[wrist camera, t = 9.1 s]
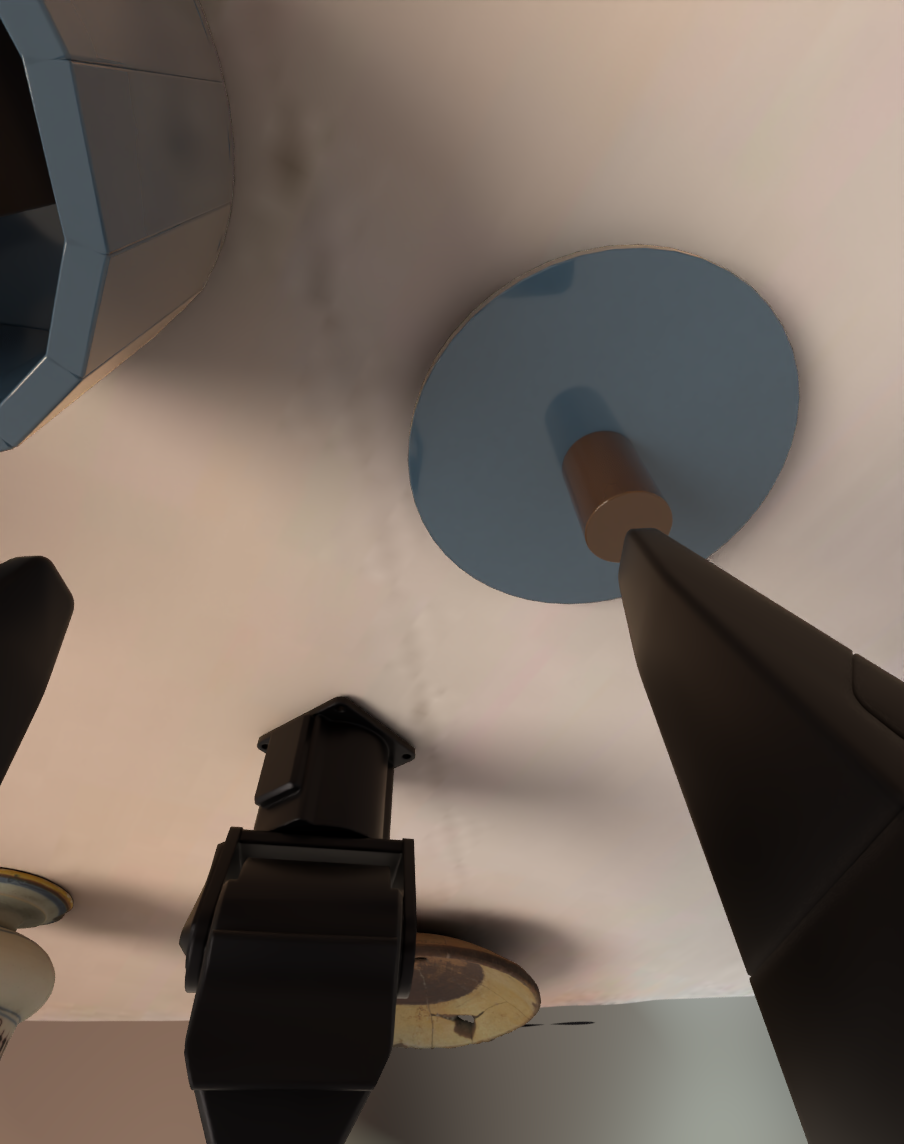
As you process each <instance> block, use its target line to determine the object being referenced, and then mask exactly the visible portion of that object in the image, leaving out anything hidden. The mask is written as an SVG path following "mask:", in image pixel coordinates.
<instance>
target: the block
mask: <svg viewBox="0 0 904 1144" xmlns="http://www.w3.org/2000/svg"><path fill="white" fill-rule="evenodd" d="M53 204H56V202H55V197H54V193H53V189H52V185H51V180H50V176H49V172H48V168H47V163H46V159H45V155H44V151H43V146H42V142H41V138H40V134H39V129H38V125H37V121H36V116H35V112H34V108H33V104H32V99H31V95H30V91H29V87H28V82H27V78H26V74H25V70H24V65H23V61H22V58H21V56H20V54H19V52H18V51H17V49H16V47H15V45H14V43H13V41H12V39H11V38H10V36H9V34H8V32H7V30H6V28H5V26H4V24H3V23H2V21H1V19H0V217H3V216H8V215H12V214H16V213H20V212H24V211H28V210H33V209H37V208H41V207H45V206H49V205H53Z"/></svg>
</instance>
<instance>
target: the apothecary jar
mask: <svg viewBox="0 0 904 1144" xmlns="http://www.w3.org/2000/svg"><path fill="white" fill-rule="evenodd" d="M72 907H73V900H72V898H71V896H70V895H69V894H68V893H67V892H66V891H65V890H63V889H62V888H60V887H59V886H57V885H55V884H53V883H51V882H50V881H47V880H45V879H43V878H40V877H37V876H34V875H31V874H27V873H23V872H19V871H14V870H8V869H1V868H0V1059H1V1057H2V1055H3V1053H4V1051H5V1049H6V1047H7V1045H8V1042H9V1040H10V1039H11V1037H12V1035H13V1033H14V1030H15V1028H16V1027H17V1025H18V1024H19V1023H20V1022H22V1021H24V1020H26V1019H27V1018H29V1017H30V1016H32V1015H33V1014H34V1013H36V1012H37V1011H38V1010H39V1009H40V1008H41V1007H42V1006H43V1005H44V1004H45V1002H46V1001H47V1000H48V998H49V996H50V995H51V993H52V990H53V987H54V983H55V971H54V967H53V964H52V962H51V960H50V958H49V956H48V954H47V953H46V952H45V951H44V950H43V949H42V948H41V947H40V946H39V945H38V944H36V943H35V942H34V941H32V940H30V939H29V938H27V937H25V936H24V935H22V934H19V933H17V932H16V930H17V929H21V928H31V927H36V926H39V925H46V924H50V923H54V922H57V921H59V920H60V919H62V918H63V916H64V915H65V913H67V912H68V911H70V910H71V909H72Z"/></svg>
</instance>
